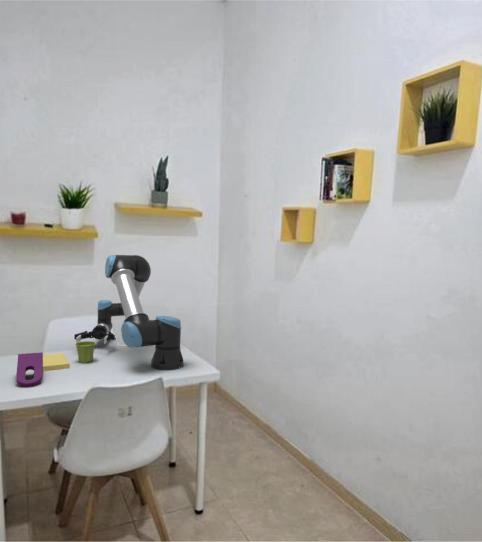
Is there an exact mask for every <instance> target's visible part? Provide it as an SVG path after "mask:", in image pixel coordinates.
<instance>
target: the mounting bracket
mask: <svg viewBox="0 0 482 542" xmlns="http://www.w3.org/2000/svg"><path fill="white" fill-rule="evenodd" d="M43 355H44V351H43V352H42V351H40V352H30V353H29V352H27V353H18V354H17V362H16V363H17V364H16V365H17V366H16V375H15V376H16V377H15V380H16V383H17V385H18V386H20V387H22V388H29V387H31V388H32V387H35V386H37V385H39V384H41V382H42V380H43V376H44V371H43ZM29 370H30V371H33V378H32V379H29V380H27V379H26V373H27V372H28V371H29Z"/></svg>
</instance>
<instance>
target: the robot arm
mask: <svg viewBox="0 0 482 542" xmlns="http://www.w3.org/2000/svg"><path fill="white" fill-rule="evenodd" d="M104 267H105V268H104V275H105V278H107V279H110V280H111V282H112V283H113V284H114V285H115V286H116V290H117V294H118V297H119V300H120V302H118V303H117V302H116V303H115V302H113V301H112V300H110V299H103V300H101V299H100V300H99V301H98V302H97V324H96V326H95V327H93V329H92V330H91V331H88V330H85V331H82V332H79V333H76V334H74V338H73V339H74V340H75V344H76V343H78V342H82V340H85V339H95V340H103V344H104V345H105V344H107V343H108V342H109V341H115V339H116V338H115V334H113V333H112V329H113V323H112V317H122V316H123V317H125V318H124V320H123V323H122V325H121V328H120V332H121V338H122V341H123V343H124V344H125V346H127V347H128V348H135V349H137V348H143V347H152V346H155V350H154V351H153V355H152V358H151V360H150V361H151V364H150V365H151V367H152V368H154V369H157V370H163V371H164V370H167V371H168V370H177V369H180V368H182V367H183V366H184V357H183V354H182V351H181V337H182V336H181V334H182V326H181V325H182V324H181V320H180V318H177V317H174V316H168V315H157V316H156V317H155V319H150V317H149V315H148V314H146V313H145V312H144V309H143V307H142V304H141V300H140V298H139V297H140V295H141V293H142V290H143V288H144V286H145V283H147V282H148V281H149V279H150V278H151V273H152V271H151V270H152V269H151V265H150V263H149V262H148V260H147V259H146V258H145V257H143V256H141V255H137V254H135V255H134V254H130V255H129V254H128V255H127V254H110V255H108V256H107V258H106V261H105V265H104ZM181 366H182V367H181ZM179 367H180V368H179ZM176 368H177V369H176Z"/></svg>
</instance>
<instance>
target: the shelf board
mask: <svg viewBox="0 0 482 542" xmlns="http://www.w3.org/2000/svg"><path fill="white" fill-rule="evenodd" d="M70 364H71V363H70V362H69V360H68V359H67V357H66V356H65V354H64V352H57V353H47V354H43V372H46V371H54V370H64V368H65V369H70V367H71V365H70Z"/></svg>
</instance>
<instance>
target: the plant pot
mask: <svg viewBox="0 0 482 542" xmlns="http://www.w3.org/2000/svg"><path fill="white" fill-rule="evenodd" d="M96 345H97V342H96V341H88V340H85V341H80V342H78V343H76V342H75V347H76V351H77V356H78V358H77V359H78V362H79V363H83V364H87V363H91V362H93V358H94V353H95V352H94V351H95V348H96Z"/></svg>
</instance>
